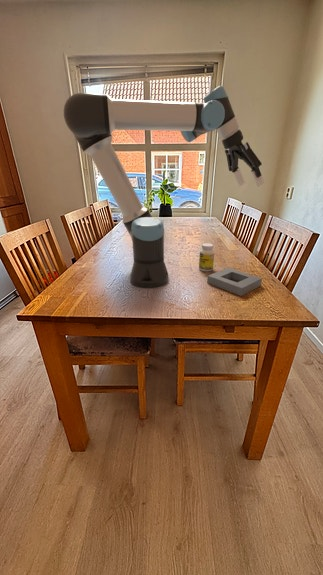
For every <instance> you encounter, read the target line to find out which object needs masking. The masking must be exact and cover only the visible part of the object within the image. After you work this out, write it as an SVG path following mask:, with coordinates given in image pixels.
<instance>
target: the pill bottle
mask: <svg viewBox="0 0 323 575" xmlns="http://www.w3.org/2000/svg"><path fill="white" fill-rule="evenodd" d="M214 262H215V249H214V244H212V243H210V242H209V243H208V242H207V243H206V242H205V243H202V245H201V249H200V251H199V260H198V270H200V271H202V272H211V271H213V269H214Z"/></svg>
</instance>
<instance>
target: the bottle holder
mask: <svg viewBox="0 0 323 575" xmlns="http://www.w3.org/2000/svg"><path fill="white" fill-rule="evenodd" d="M206 280H207V281H206V282H207V284H209V285H212V286H215V287H217V288H219V289H222V290H224V291H227V292H230V293H231V294H235V295H237V296H240V297H242V296H243V295H244V296H245V295H246V294H247V293H250V292H251V291H253V290H255V289H257V288H259V287H261V286H262V281H263V278H262V277H259V276H256V275H253V274H250V273H247V272H244V271H241V270H237V269H234V268H231V267H226V268H224V269H221V270H219V271H216V272H213V273H211V274H209V275H207V279H206ZM236 281H237V282H236Z"/></svg>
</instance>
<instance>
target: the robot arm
mask: <svg viewBox="0 0 323 575" xmlns="http://www.w3.org/2000/svg"><path fill="white" fill-rule="evenodd" d="M63 117H64V122H65V124H66V126H67V128H68V129H69V130H70V132H71V133H72V134H73V135H74V137H75V139H76V141H77V143H78V144H79V146H80V149H81V151H82V152H83V153H84V154H86V155H89V156H90V157H91V159H92V161H93V163H94V165H95V167H96V169H97V170H98V172H99V174H100V175H101V177H102V179H103V181H104V183H105V185H106V187H107V188H108V191H109V192H110V194H111V196H112V198H113V200H114V202H115V203H116V205H117V207H118V208H119V210H120V212H121V214H122V215H123V218H122V224H123V225H124V227H125V229H126V230H127V232H128V234H129V236H130V238H131V241H132V253H133V254H132V256H133V264H132V268H131V272H130V275H129V278H130V279H129V280H130V283H131V284H132V285H133V286H136V287H139V288H145V289H146V288H147V289H149V288H157V287H161V286H165V285H167V283H168V282H169V272H168V269H167V266H166V264H165V242H164V241H165V228H164V227H165V226H164V222H163V220H161V219H159V218H156V217H153V216H152V214H151V212H150V210H149V208H148V207H146V206H143V204H142V203H141V200H140V199H139V197H138V194H137V192H136V190H135V189H134V187H133V184H132V182H131V181H130V178H129V177H128V175H127V173H126V171H125V168H124V167H123V165H122V163H121V161H120V159H119V157H118V154H117V152H116V151H115V148H114V147H113V145H112V141H113V135H112V133H113V132H114V131H115V130H116V131H118V130H120V131H166V132H167V131H170V132H171V131H174V132H180V133H181V136H182V137H183V139H184V140H185V141H186V142H187V143H191V142H193V141H194V140H196V139H198V137H200V136H202V135H204V134H207V133H210V132H212V131H215V130H216V132H217V134H218V136H219V139H220V140H221V143H222V145H223V148H224V152H225V156H226V161H227V166H228V170H229V172H231V173H233V176H234V177H235V180H236V182H237V184H238V186H239V187H241V186H243V185H244V184H246V182H245V180H244V179H245V178H244V175H243V174H242V172H241V169H240V168H239V160H241V161H243V162H244V163H245V164H246V165H247V166H248V167H249V168H250V169H251V171H250V172H251V173H252V176H253V179H254V181H255V184H256V186H257V187H260V186H261V185H263V184H264V183H265V181H264V179H263V178H264V177H263V176H262V172H261V170H260V167H261V166H262V161H261V160H260V159H259V158H258V157H257V155H256V153H255V152H254V150H252V148H251V147H250V144H249V142H248V141H246V142H245V143H244V144H243V140H244V135H243V133H242V130H241V129H239V128H240V126H239V122H238V119H237V117H236V115H235V113H234V110H233V107H232V104H231V102H230V99H229V96H228V93H227V91H226V90H225V88H224V86H222V85H219V86H217V87H215V88H214V89H212V91H210V92H209V93H207V94H206V95H205V96H204V97H203V102H189V101H188V102H187V101H186V102H185V101H168V100H167V101H164V100H163V101H161V100H142V99H118V98H117V99H116V98H112V97H111V96H110V95H109V94H105V93H103V94H102V93H92V92H76V93H73V94H72V95H70V96H68V98H67V100H66V101H65V103H64V106H63Z"/></svg>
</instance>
